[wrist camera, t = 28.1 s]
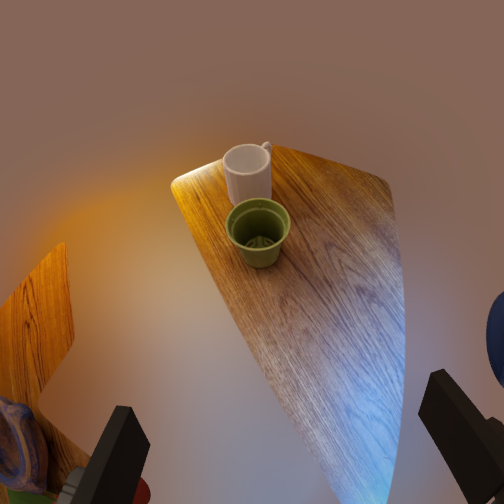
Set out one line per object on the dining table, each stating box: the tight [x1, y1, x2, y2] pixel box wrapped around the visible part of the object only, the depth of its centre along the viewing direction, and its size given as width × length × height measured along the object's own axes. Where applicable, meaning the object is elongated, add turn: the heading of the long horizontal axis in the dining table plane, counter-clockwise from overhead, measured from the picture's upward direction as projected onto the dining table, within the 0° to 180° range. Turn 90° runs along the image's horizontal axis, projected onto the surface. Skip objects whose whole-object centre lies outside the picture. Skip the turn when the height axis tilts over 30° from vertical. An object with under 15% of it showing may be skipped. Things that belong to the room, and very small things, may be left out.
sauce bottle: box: [52, 477, 151, 504], centre depth 22 cm, size 7×7×18 cm
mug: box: [223, 142, 272, 207], centre depth 53 cm, size 8×12×10 cm
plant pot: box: [225, 198, 290, 268], centre depth 46 cm, size 9×9×9 cm
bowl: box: [0, 396, 49, 495], centre depth 28 cm, size 18×18×10 cm
